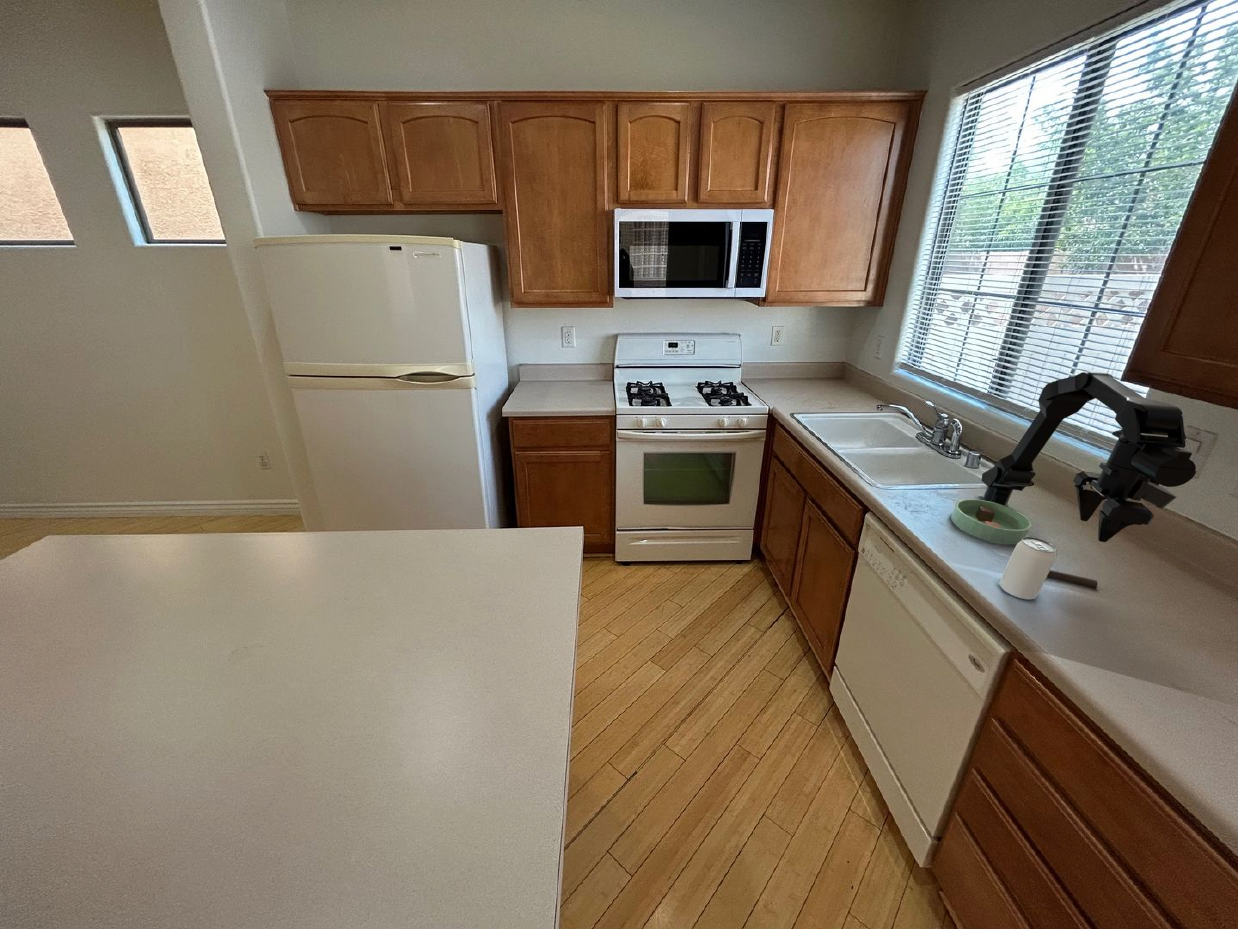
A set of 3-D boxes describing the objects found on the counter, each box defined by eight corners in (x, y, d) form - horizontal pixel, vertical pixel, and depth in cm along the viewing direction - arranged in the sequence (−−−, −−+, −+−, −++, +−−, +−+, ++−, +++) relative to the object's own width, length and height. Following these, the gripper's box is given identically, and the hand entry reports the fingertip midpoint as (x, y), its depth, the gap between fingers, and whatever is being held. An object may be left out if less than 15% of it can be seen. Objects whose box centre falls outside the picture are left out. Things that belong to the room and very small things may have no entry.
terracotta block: (981, 530, 123) (985, 520, 122) (995, 533, 122) (999, 523, 121) (982, 536, 121) (986, 526, 120) (997, 539, 120) (1001, 529, 118)
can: (1022, 582, 105) (1044, 536, 100) (1043, 602, 99) (1068, 554, 94) (991, 580, 105) (1012, 534, 100) (1010, 599, 99) (1033, 552, 94)
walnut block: (975, 515, 131) (979, 505, 129) (988, 517, 130) (992, 508, 128) (978, 520, 128) (982, 510, 127) (991, 522, 127) (995, 513, 126)
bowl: (946, 508, 135) (951, 494, 133) (1014, 521, 129) (1021, 507, 127) (956, 535, 122) (962, 520, 120) (1033, 552, 116) (1041, 537, 114)
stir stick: (1030, 567, 106) (1098, 582, 102) (1027, 563, 108) (1094, 578, 104) (1027, 575, 107) (1095, 590, 103) (1024, 571, 109) (1090, 586, 104)
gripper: (1210, 492, 84) (1166, 564, 91) (1154, 456, 100) (1120, 519, 107) (1129, 479, 89) (1092, 549, 95) (1088, 446, 104) (1058, 508, 111)
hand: (1092, 530), depth 102 cm, fingers open, 9 cm apart
